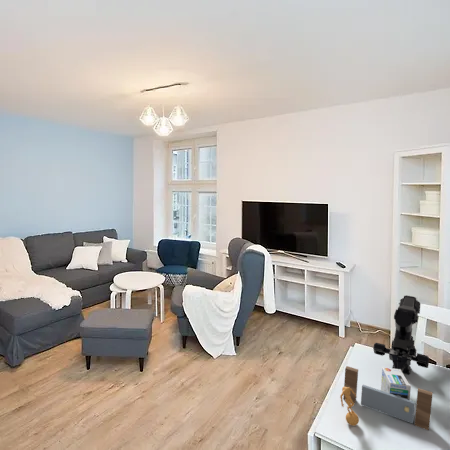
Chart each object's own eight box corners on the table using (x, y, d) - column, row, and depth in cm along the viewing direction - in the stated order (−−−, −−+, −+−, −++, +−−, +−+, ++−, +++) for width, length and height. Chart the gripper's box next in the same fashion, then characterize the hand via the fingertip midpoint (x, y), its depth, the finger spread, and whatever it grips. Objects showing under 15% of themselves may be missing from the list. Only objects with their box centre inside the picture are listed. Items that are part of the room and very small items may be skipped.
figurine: (350, 433, 102) (352, 398, 100) (333, 422, 106) (335, 388, 105) (364, 422, 107) (366, 388, 105) (347, 412, 111) (349, 379, 110)
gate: (361, 402, 115) (362, 384, 115) (413, 421, 107) (414, 401, 106) (360, 406, 114) (361, 387, 113) (412, 425, 105) (414, 405, 104)
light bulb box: (409, 415, 110) (411, 386, 109) (387, 412, 112) (390, 383, 110) (398, 395, 121) (401, 368, 119) (379, 393, 122) (381, 366, 121)
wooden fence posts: (344, 396, 120) (346, 365, 118) (429, 426, 105) (432, 392, 104) (343, 399, 118) (345, 368, 117) (428, 430, 103) (432, 395, 102)
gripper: (375, 323, 129) (368, 361, 121) (431, 335, 118) (427, 378, 111) (377, 334, 136) (371, 371, 128) (430, 347, 126) (426, 388, 118)
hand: (397, 376), depth 121 cm, fingers closed
